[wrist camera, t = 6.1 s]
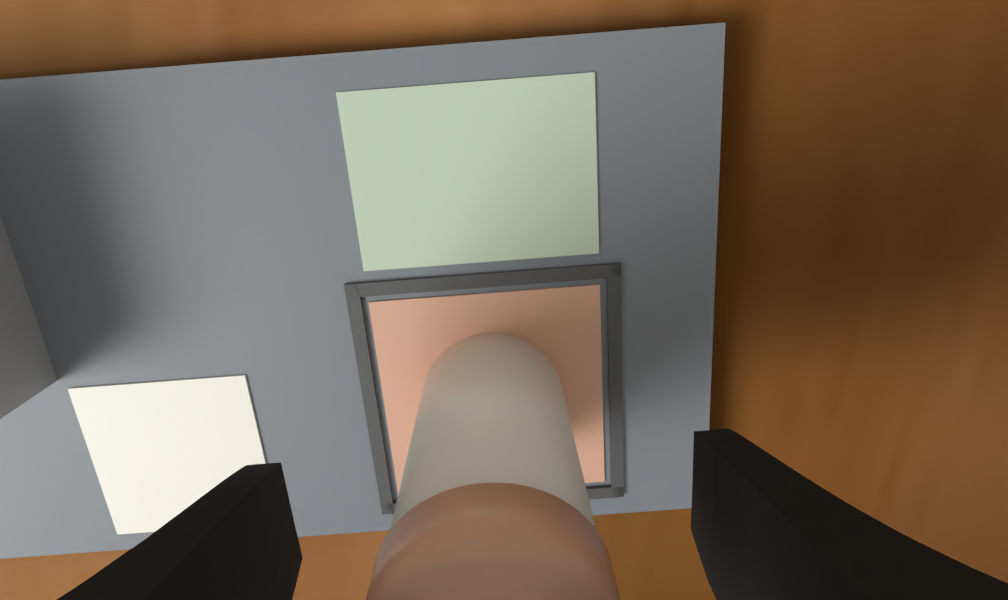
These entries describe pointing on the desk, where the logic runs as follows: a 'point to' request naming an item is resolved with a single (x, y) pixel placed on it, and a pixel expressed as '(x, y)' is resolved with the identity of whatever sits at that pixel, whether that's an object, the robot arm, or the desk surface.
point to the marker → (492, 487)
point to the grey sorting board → (347, 270)
